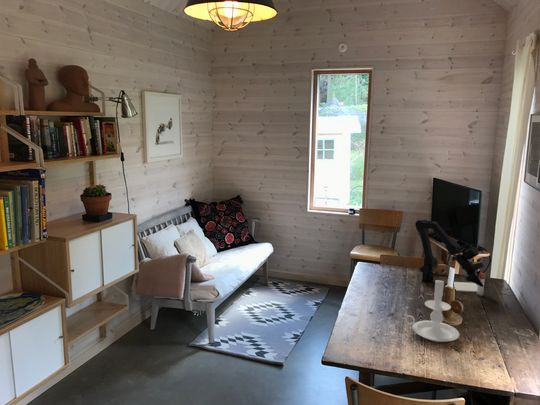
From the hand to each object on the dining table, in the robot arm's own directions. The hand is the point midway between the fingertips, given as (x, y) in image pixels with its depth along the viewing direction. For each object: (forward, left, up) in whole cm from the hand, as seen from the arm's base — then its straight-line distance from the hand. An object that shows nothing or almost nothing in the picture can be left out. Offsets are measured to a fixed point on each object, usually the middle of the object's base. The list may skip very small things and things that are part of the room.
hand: (483, 284), depth 252 cm
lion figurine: (-16, +36, -7) cm, 40 cm away
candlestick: (-41, -56, -7) cm, 70 cm away
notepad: (-6, +12, -7) cm, 15 cm away
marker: (-1, +1, -7) cm, 7 cm away
